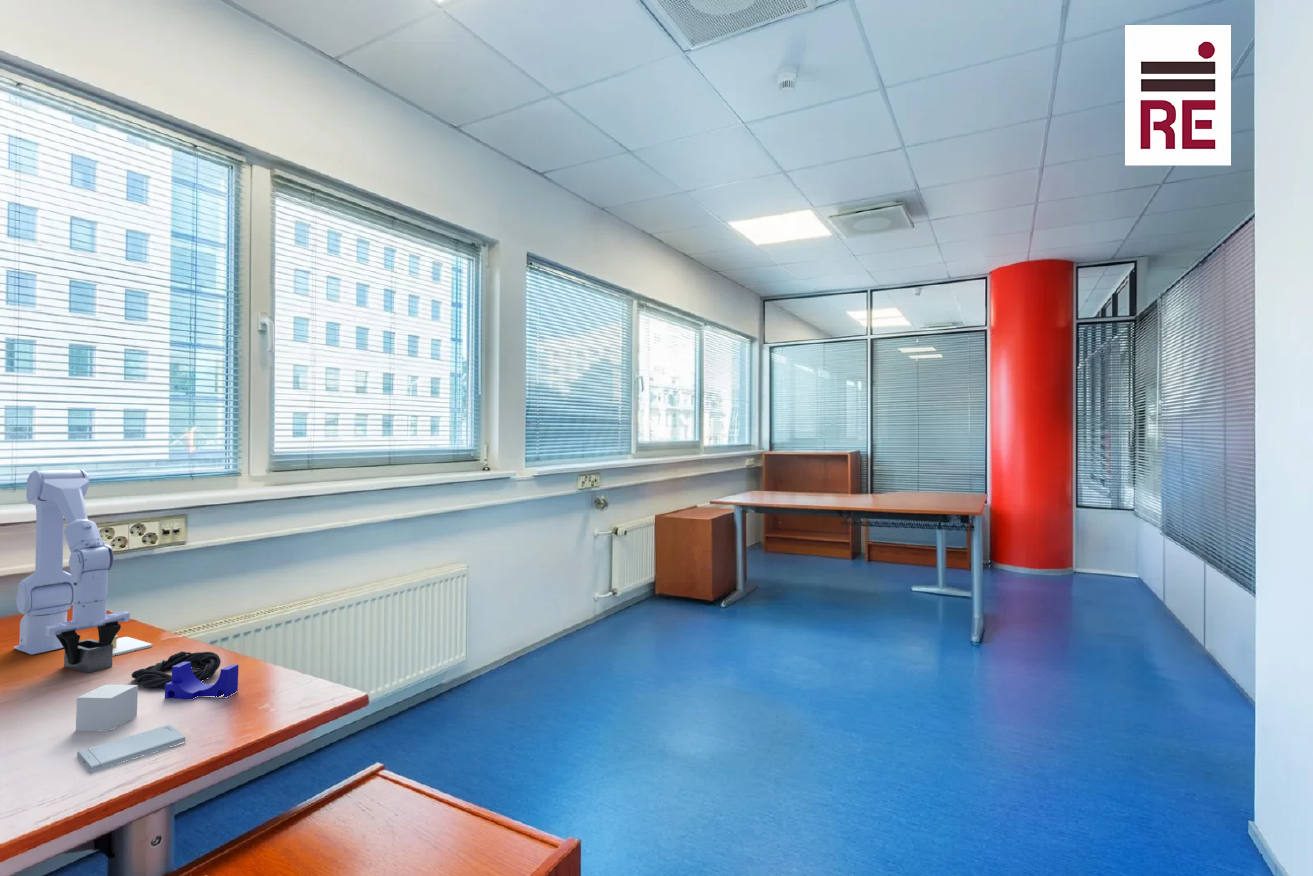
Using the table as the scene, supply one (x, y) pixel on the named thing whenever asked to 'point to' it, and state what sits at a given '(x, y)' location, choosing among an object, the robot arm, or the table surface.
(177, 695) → the cable clip
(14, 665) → the table surface
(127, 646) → the keeper plate
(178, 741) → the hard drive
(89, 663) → the grey open storage bin
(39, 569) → the robot arm
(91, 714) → the light grey cube
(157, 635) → the table surface
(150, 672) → the cable
